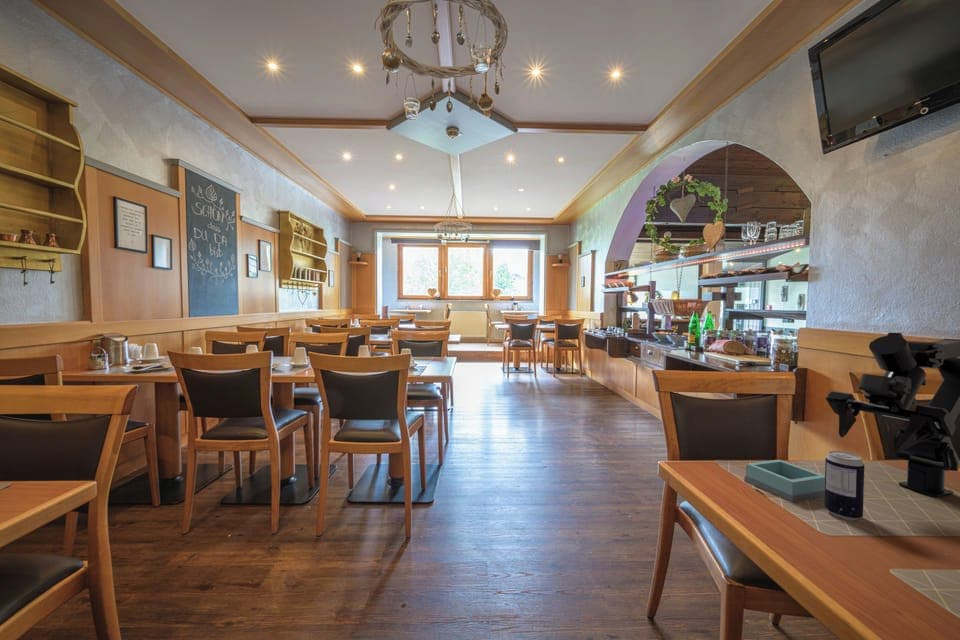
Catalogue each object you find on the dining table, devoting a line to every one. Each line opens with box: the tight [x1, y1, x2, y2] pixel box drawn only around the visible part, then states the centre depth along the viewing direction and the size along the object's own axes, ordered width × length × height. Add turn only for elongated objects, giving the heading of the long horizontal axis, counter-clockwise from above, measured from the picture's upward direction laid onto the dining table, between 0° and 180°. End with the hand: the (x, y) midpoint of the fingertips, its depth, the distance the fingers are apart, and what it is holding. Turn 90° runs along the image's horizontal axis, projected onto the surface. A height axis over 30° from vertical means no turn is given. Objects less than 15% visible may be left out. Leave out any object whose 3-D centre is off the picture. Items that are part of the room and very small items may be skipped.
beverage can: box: [823, 450, 865, 521], centre depth 78 cm, size 6×6×12 cm
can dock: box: [743, 459, 825, 503], centre depth 90 cm, size 11×11×4 cm
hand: (867, 442), depth 81 cm, fingers open, 9 cm apart
